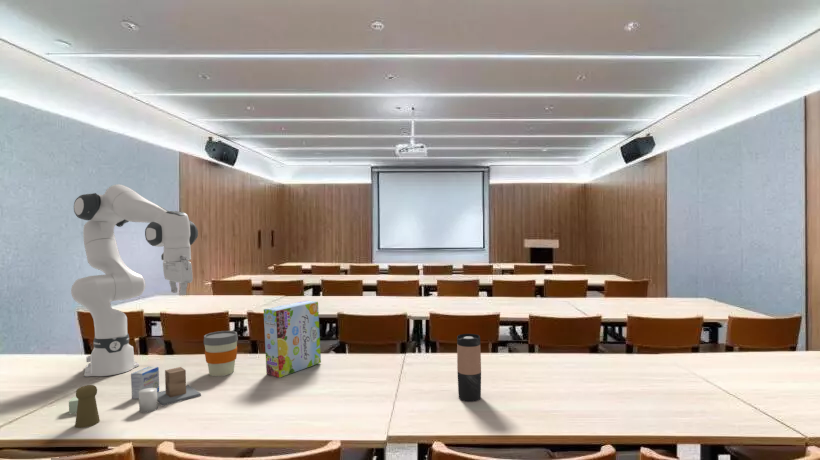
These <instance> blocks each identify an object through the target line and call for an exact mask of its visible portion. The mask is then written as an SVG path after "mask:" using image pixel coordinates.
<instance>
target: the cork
mask: <svg viewBox="0 0 820 460" xmlns="http://www.w3.org/2000/svg"><path fill="white" fill-rule="evenodd" d="M97 394H98V388H97V386H96V385H93V384H87V385H83V386H80V387H78V388H77V389H76V391H75V397H77V398H78V406H77V413H75V416H76V417H75V422H74V423H75V424H74V427H75V428H76V429H84V428H85V429H86V428H89V427H92V426H95V425H97V424H99V423H100V422H101V420H100V414H99V411H98V410H99V409H98V404H97V399H96V395H97Z"/></svg>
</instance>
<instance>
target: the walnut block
mask: <svg viewBox="0 0 820 460" xmlns="http://www.w3.org/2000/svg"><path fill="white" fill-rule="evenodd" d="M186 371H187V370H186V369H185V368H183V367H182V366H178V367H174V368H169V369H165V370H164V382H165V385H164V386H165V390H166V394H167V395H168V396H169V397H174V396H178V395H182V394H186V385H187V379H186V378H187V376H186V375H187V373H186Z"/></svg>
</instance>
